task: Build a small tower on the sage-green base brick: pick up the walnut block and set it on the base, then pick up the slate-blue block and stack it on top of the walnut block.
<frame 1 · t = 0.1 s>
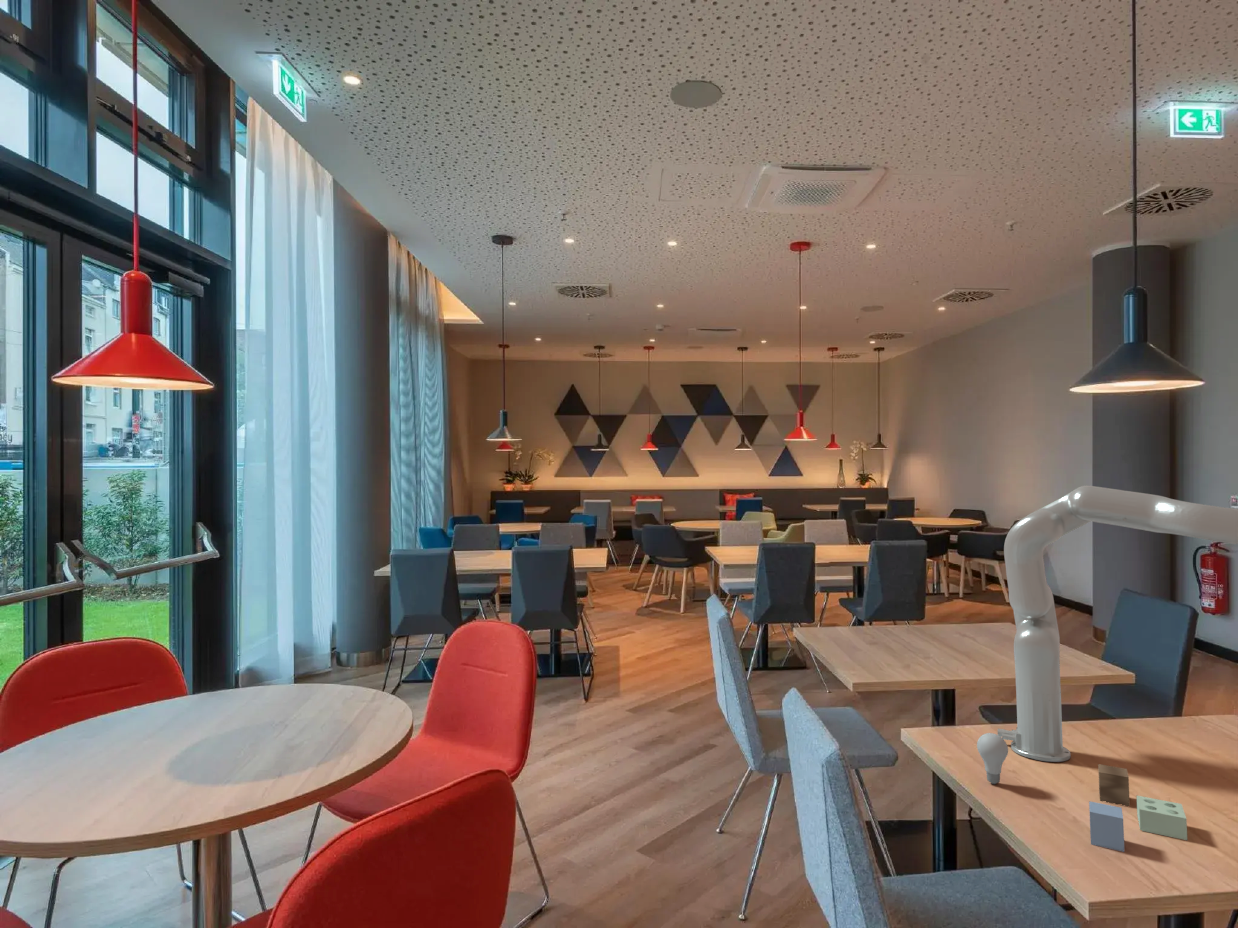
base brick: (1161, 827, 132), on the table
walnut block: (1114, 799, 144), on the table
lightbulb: (993, 784, 152), on the table
slate block: (1106, 842, 127), on the table
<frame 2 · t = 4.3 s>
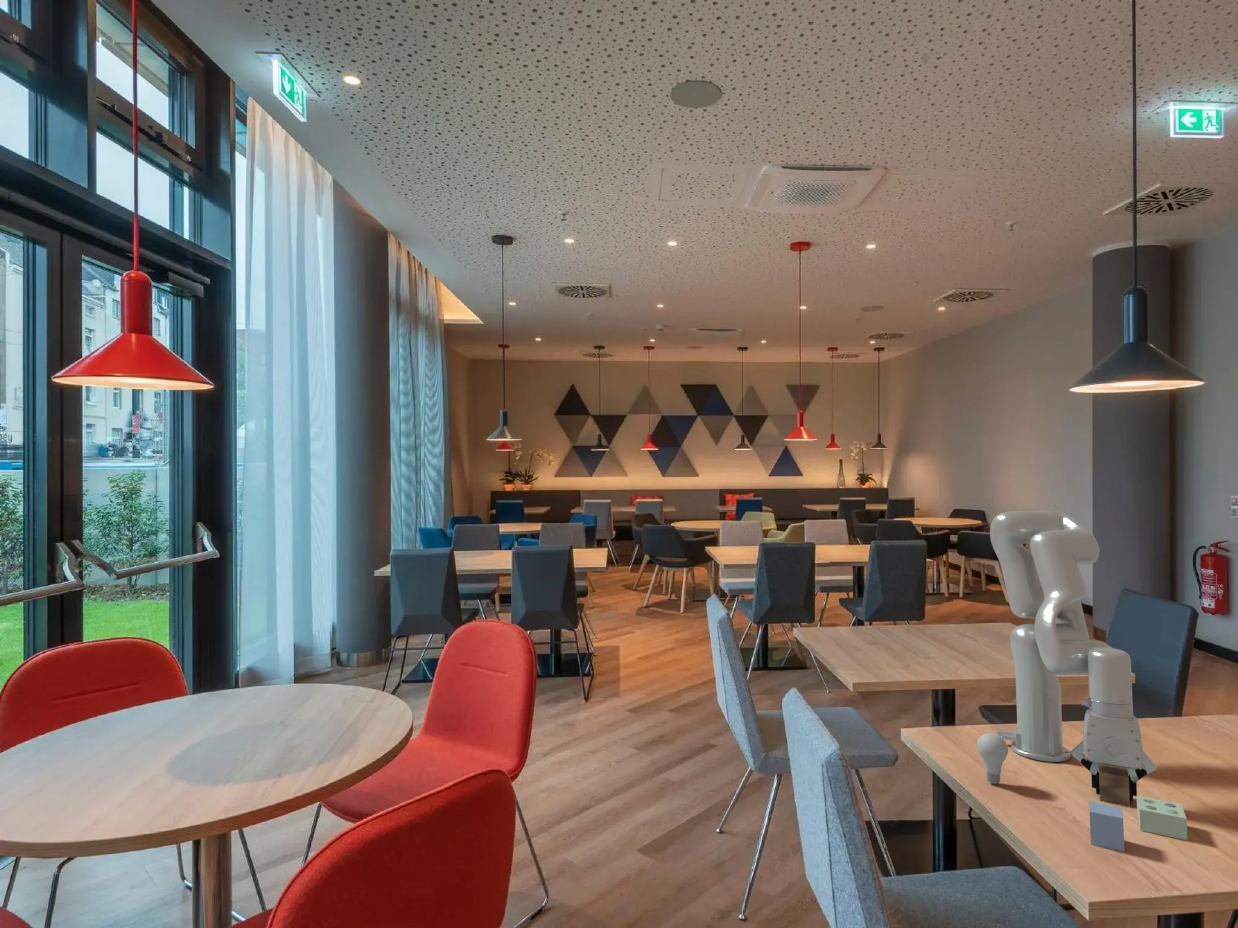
hand: (1114, 794, 144), 1 cm above the table, tool pointing down, fingers closed on walnut block, 5 cm apart
walnut block: (1114, 799, 144), on the table, touching gripper
everything else where it was.
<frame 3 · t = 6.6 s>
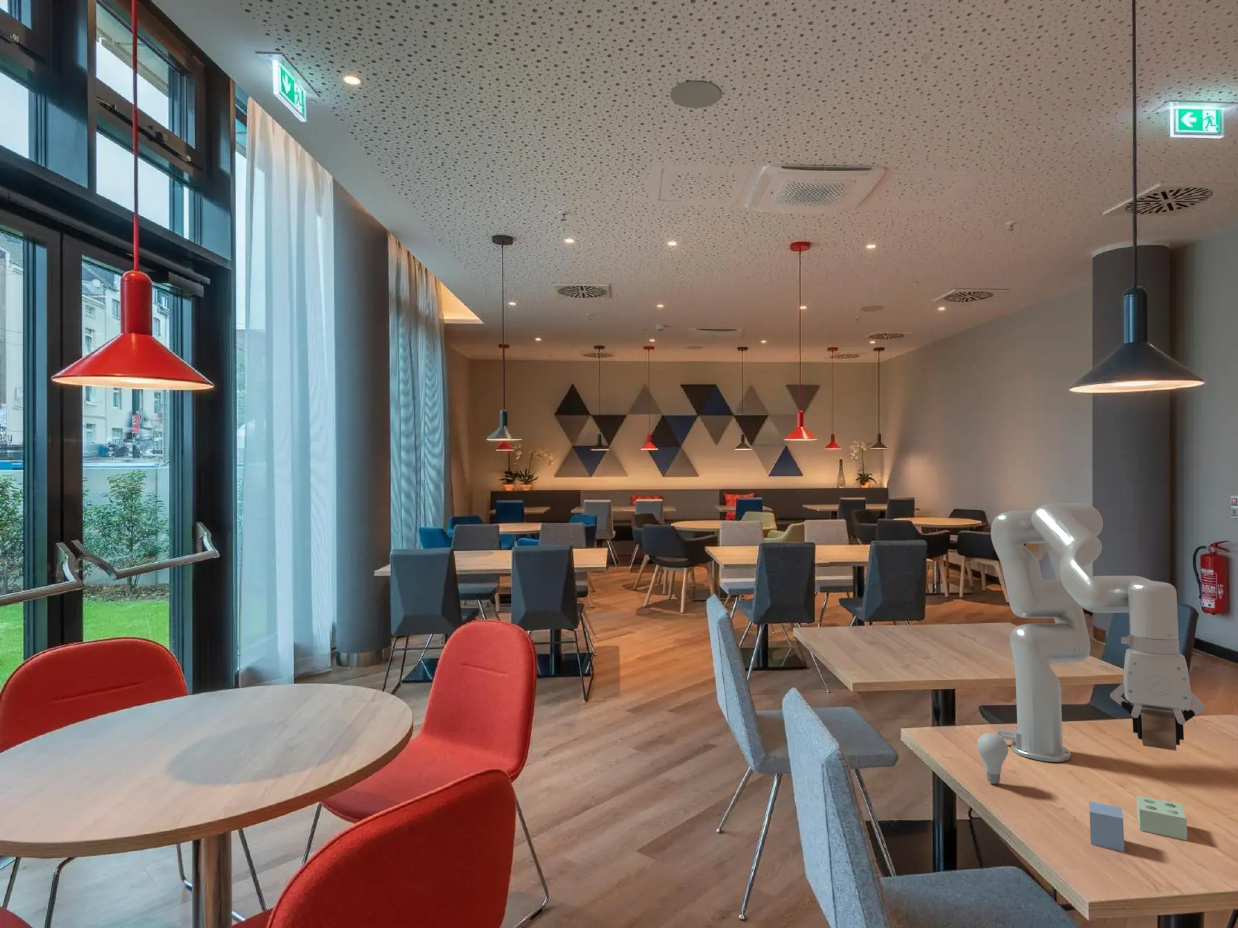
hand: (1158, 738, 133), 17 cm above the table, tool pointing down, fingers closed on walnut block, 5 cm apart
walnut block: (1158, 743, 133), point 16 cm above the table, touching gripper
everything else where it was.
when the fingers open (6 cm above the table, at t = 8.9 s): walnut block stays where it is, resting on base brick.
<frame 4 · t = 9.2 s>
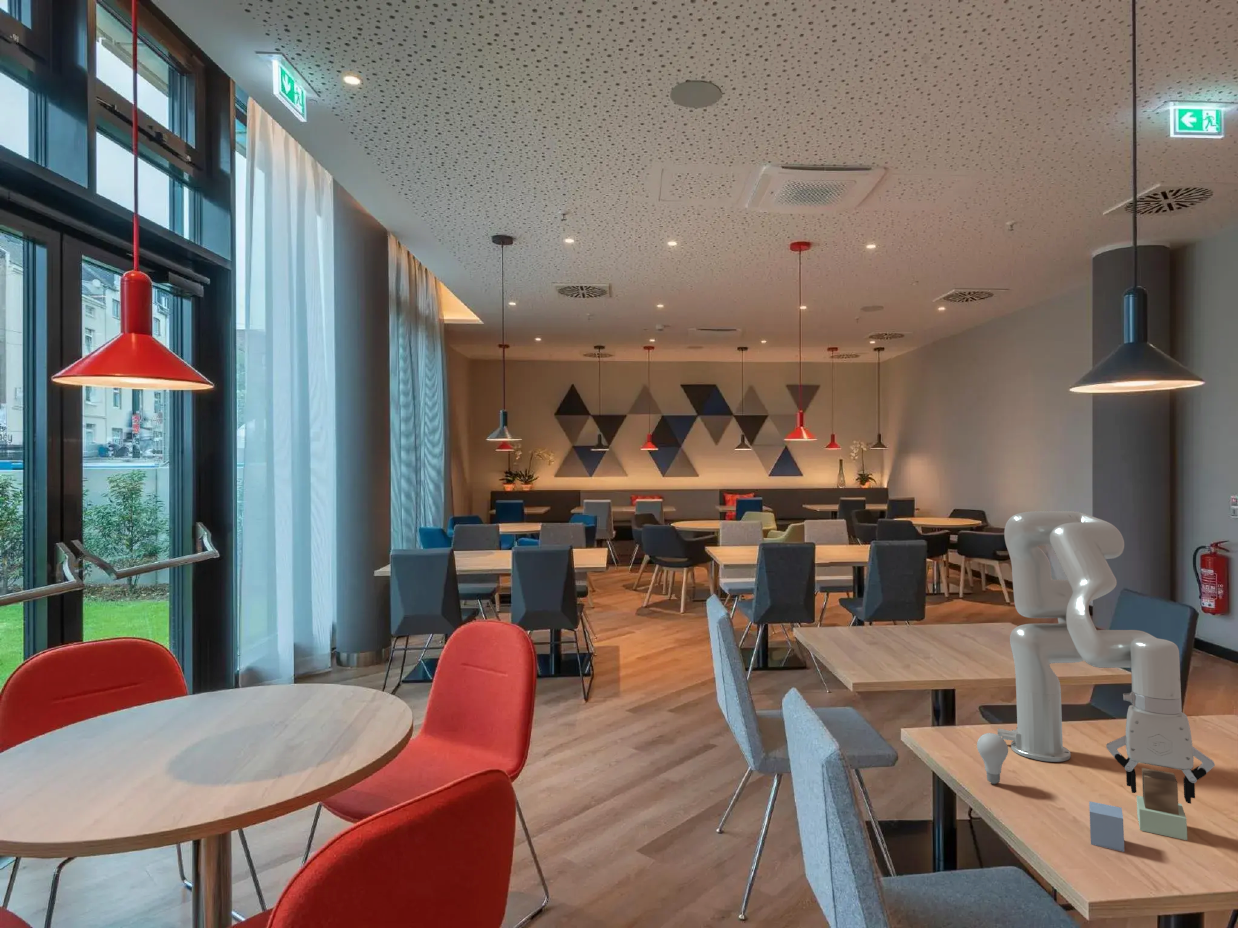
hand: (1160, 794, 132), 6 cm above the table, tool pointing down, fingers open, 7 cm apart
walnut block: (1160, 806, 132), point 4 cm above the table, touching base brick
everything else where it was.
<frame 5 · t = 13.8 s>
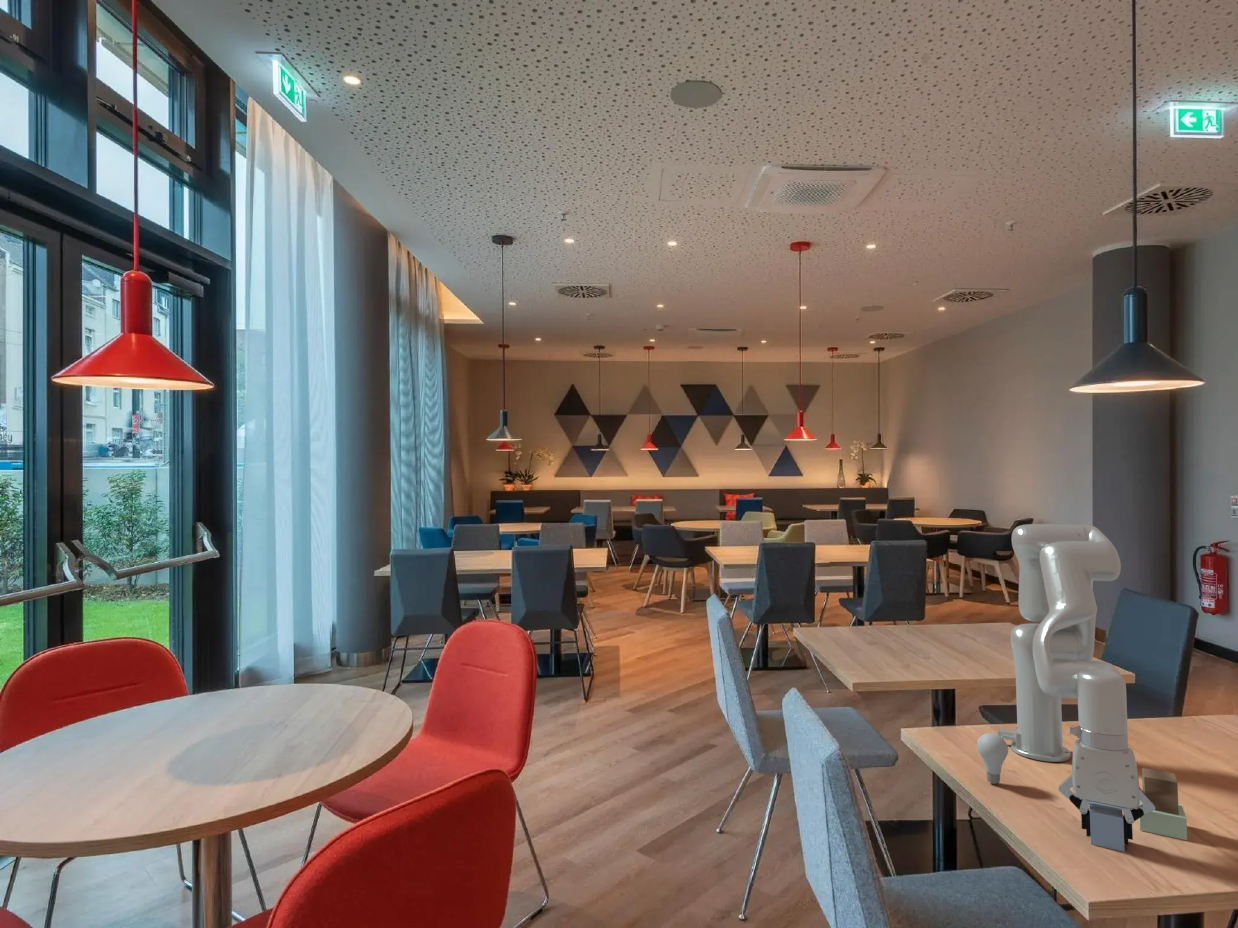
hand: (1106, 836, 127), 1 cm above the table, tool pointing down, fingers closed on slate block, 5 cm apart
slate block: (1107, 841, 127), on the table, touching gripper
everything else where it was.
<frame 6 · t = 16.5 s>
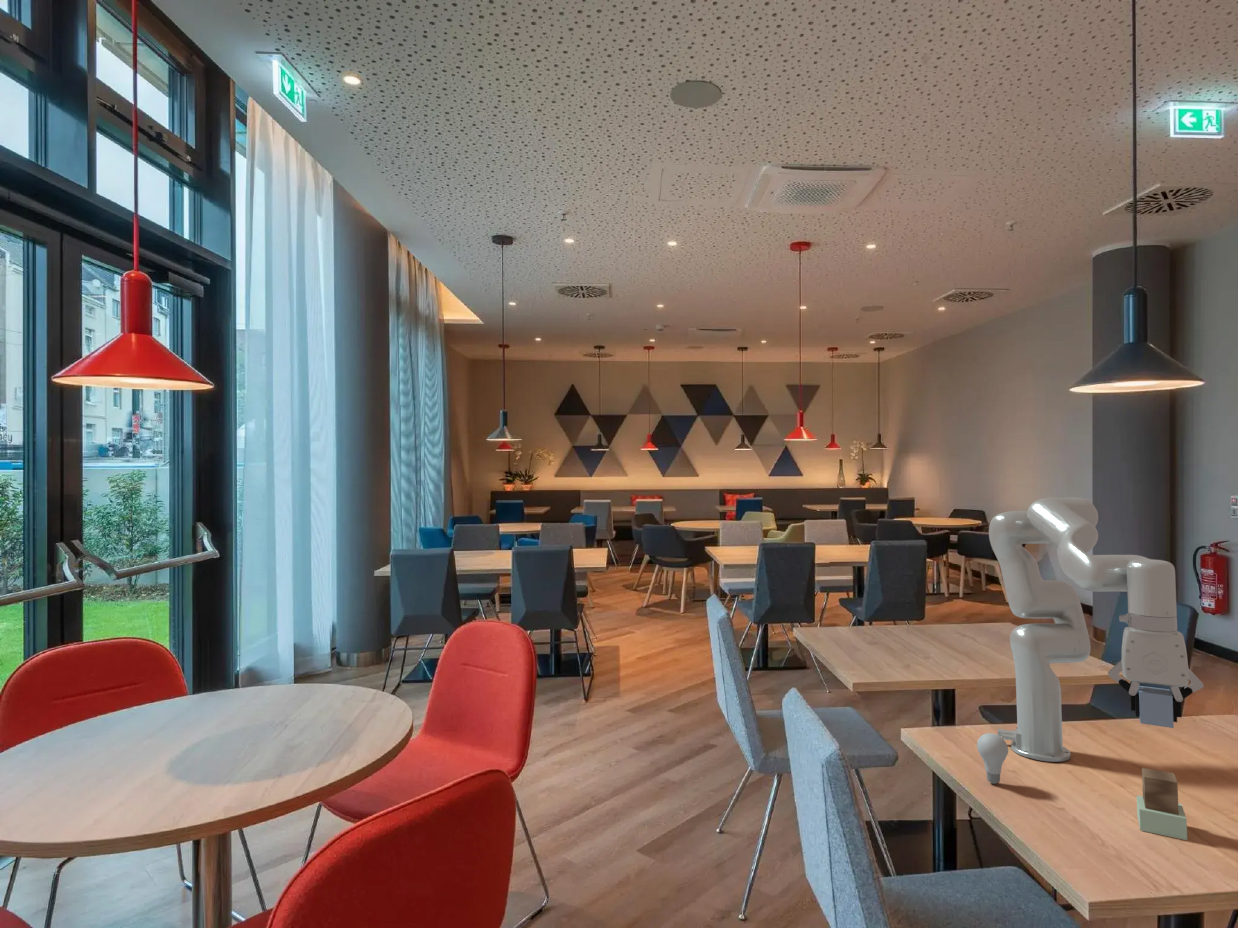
hand: (1155, 716, 133), 21 cm above the table, tool pointing down, fingers closed on slate block, 5 cm apart
slate block: (1155, 721, 133), point 20 cm above the table, touching gripper
everything else where it was.
when the fingers open (12 cm above the table, at t = 19.2 s): slate block stays where it is, resting on walnut block.
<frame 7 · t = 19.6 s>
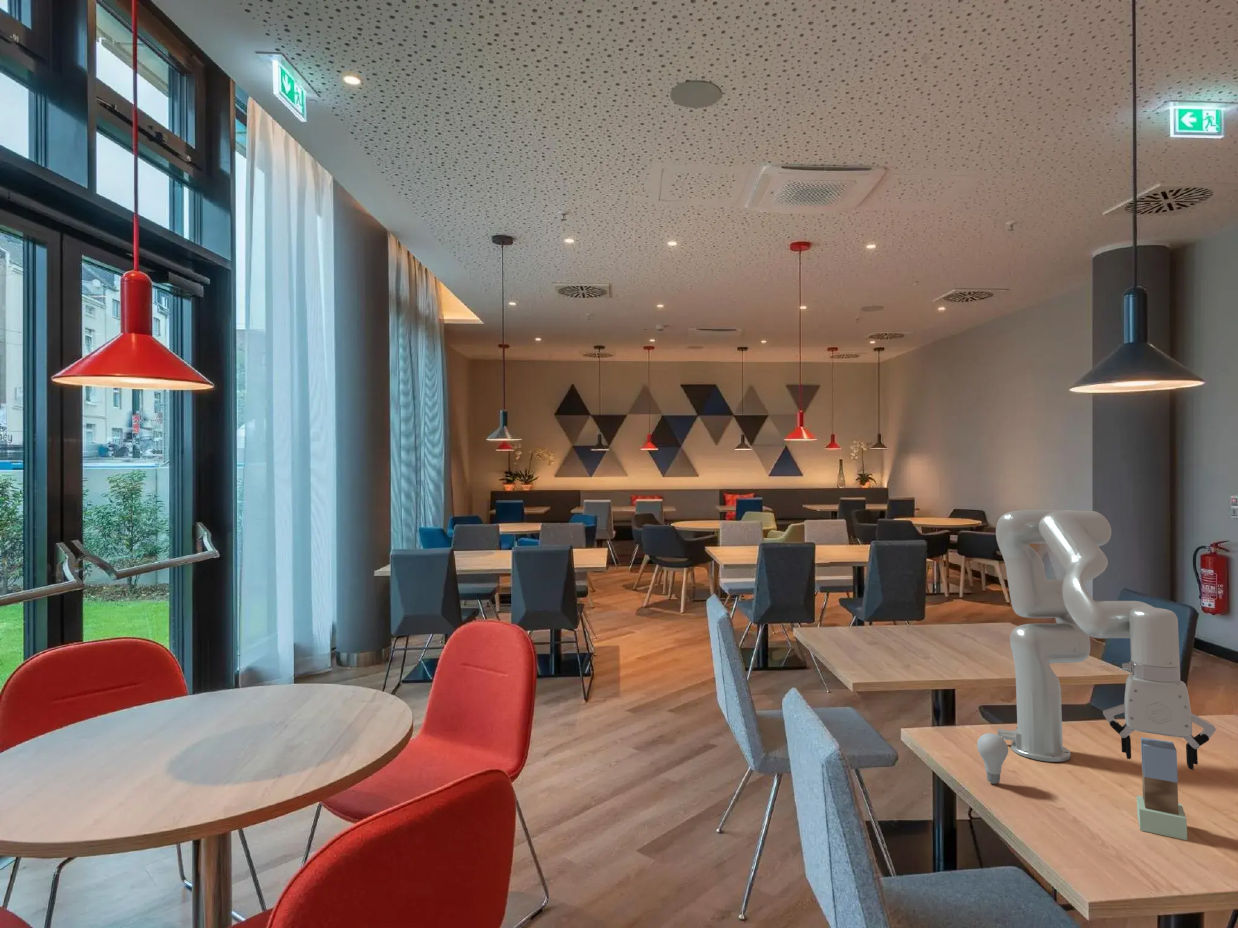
hand: (1158, 761, 132), 13 cm above the table, tool pointing down, fingers open, 9 cm apart
walnut block: (1160, 806, 132), point 4 cm above the table, touching base brick, slate block
slate block: (1159, 774, 132), point 10 cm above the table, touching walnut block
everything else where it was.
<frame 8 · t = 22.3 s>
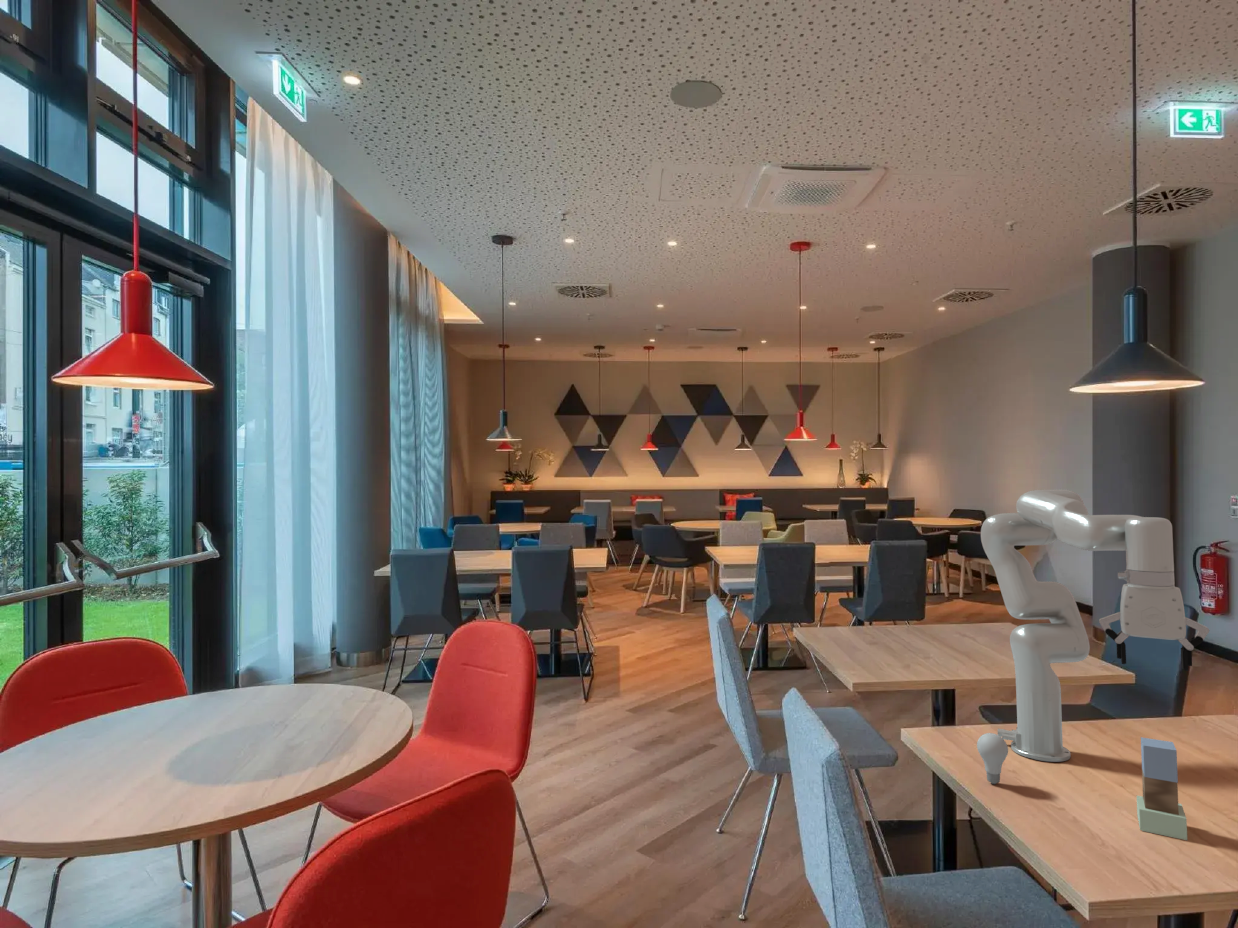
hand: (1153, 665, 136), 30 cm above the table, tool pointing down, fingers open, 9 cm apart
nothing on the table moved.
at the end: walnut block 0.0 cm off-centre on the base brick, point 4.0 cm above the base brick's base; slate block 0.0 cm off-centre on the walnut block, point 6.0 cm above the walnut block's base; slate block tilted 0° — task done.
